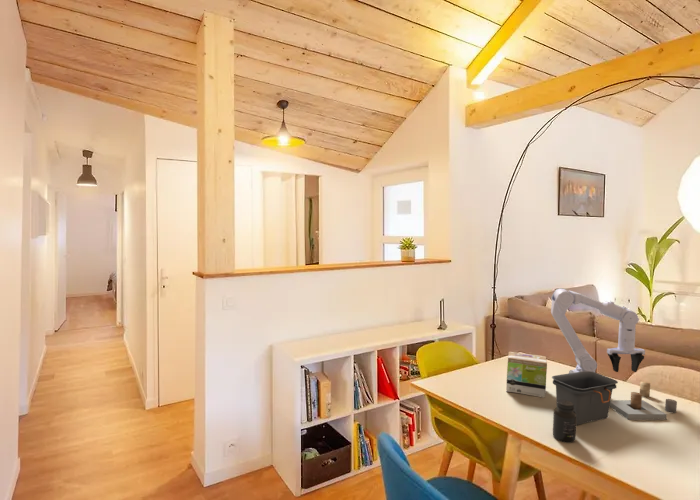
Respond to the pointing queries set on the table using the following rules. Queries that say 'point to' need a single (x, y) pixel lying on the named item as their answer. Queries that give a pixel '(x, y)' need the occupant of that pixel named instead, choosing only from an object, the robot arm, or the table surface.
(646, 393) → the medium dowel
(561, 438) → the supplement bottle
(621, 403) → the hole board
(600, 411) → the storage bin
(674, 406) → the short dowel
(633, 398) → the long dowel
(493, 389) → the table surface
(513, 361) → the tea box
